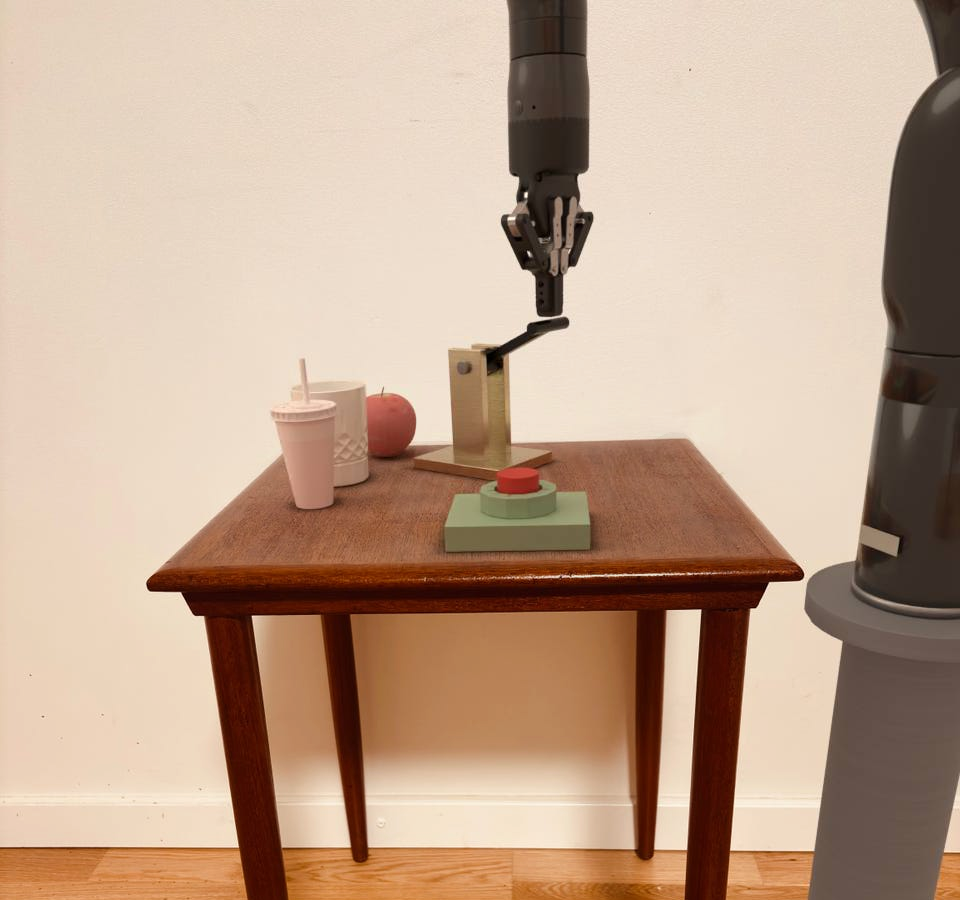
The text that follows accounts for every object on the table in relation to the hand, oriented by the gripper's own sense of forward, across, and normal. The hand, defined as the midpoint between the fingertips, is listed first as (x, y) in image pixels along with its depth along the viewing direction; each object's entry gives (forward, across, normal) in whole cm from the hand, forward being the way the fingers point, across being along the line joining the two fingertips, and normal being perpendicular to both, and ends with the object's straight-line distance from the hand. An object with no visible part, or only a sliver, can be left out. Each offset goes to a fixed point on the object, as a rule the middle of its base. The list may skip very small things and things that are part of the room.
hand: (549, 315), depth 92 cm
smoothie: (+16, -21, +14) cm, 30 cm away
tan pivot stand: (+16, 0, +9) cm, 19 cm away
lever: (+4, 0, +5) cm, 6 cm away
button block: (+16, -18, -9) cm, 26 cm away
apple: (+16, -2, +22) cm, 28 cm away
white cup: (+16, -13, +19) cm, 28 cm away
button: (+13, -18, -9) cm, 24 cm away
